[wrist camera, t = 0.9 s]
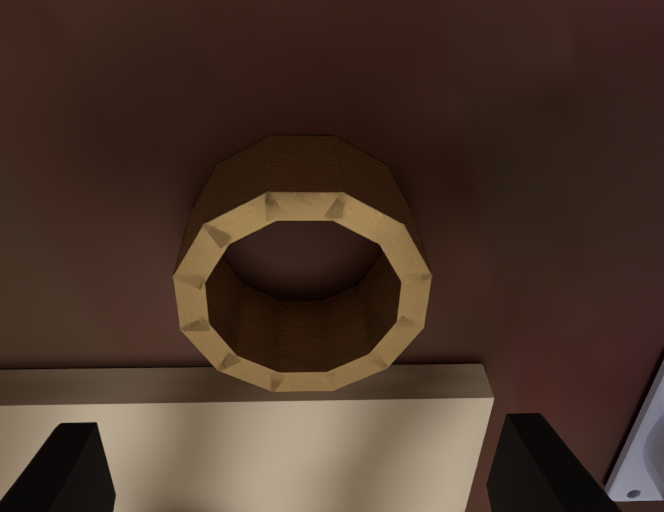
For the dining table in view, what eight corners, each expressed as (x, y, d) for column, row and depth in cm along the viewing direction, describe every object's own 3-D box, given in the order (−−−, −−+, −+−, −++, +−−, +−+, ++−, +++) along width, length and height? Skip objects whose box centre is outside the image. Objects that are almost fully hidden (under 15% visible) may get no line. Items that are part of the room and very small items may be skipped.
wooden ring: (421, 136, 16) (446, 192, 13) (398, 318, 19) (414, 390, 17) (181, 133, 15) (160, 190, 13) (202, 319, 19) (187, 393, 16)
